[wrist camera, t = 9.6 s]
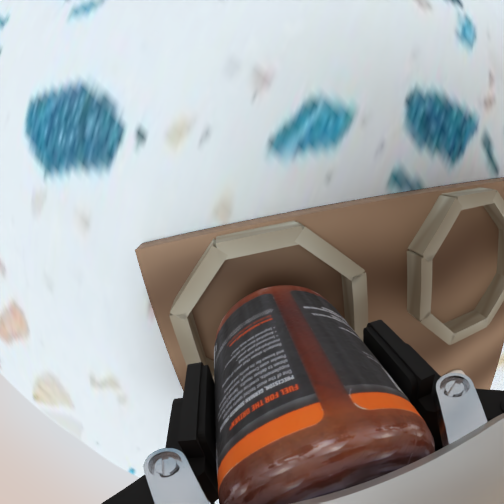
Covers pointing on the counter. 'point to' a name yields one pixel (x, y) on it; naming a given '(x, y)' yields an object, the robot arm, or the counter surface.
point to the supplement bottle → (304, 403)
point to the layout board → (371, 253)
